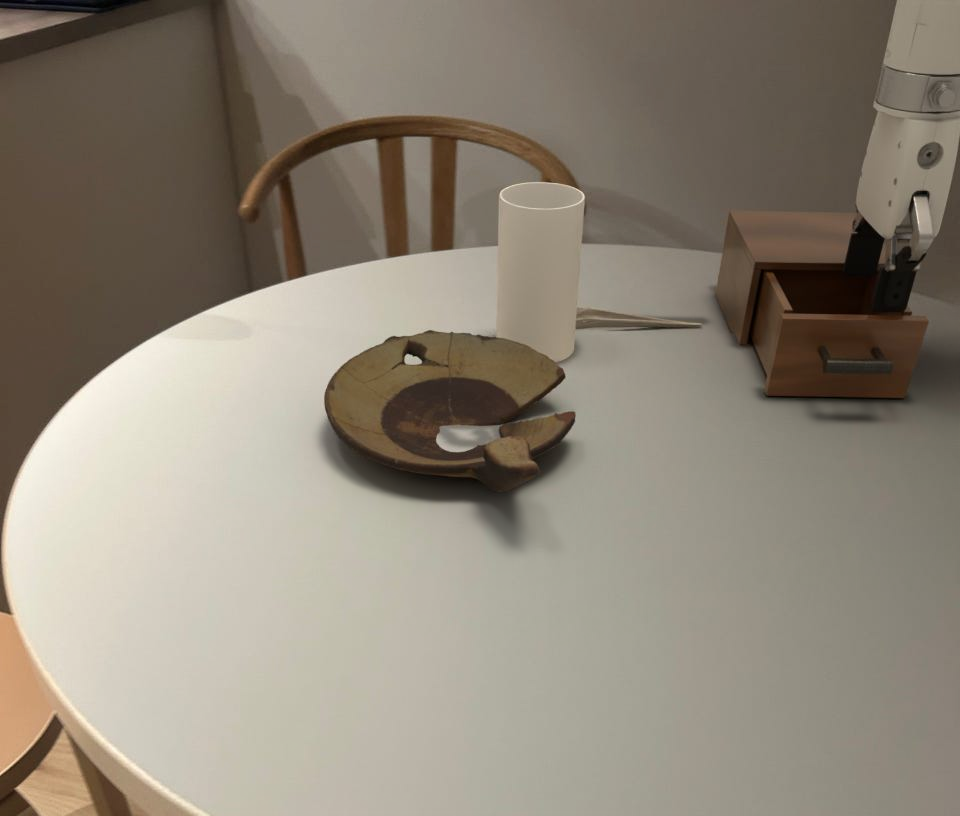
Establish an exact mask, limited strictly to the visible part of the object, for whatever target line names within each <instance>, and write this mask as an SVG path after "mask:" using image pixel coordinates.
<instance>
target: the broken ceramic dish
mask: <svg viewBox="0 0 960 816" xmlns="http://www.w3.org/2000/svg"><path fill="white" fill-rule="evenodd" d="M407 355H409V356H412V357H413V358H414V357H415V358H418V359H419V360H420V361H421V362H420V363H418V364H417V363H416V364H407V363H406V360H405V358H406V356H407ZM565 379H566V373H565V371H564V368H562V367H561V366H560V365H558V364H556V362H554V361H553V360H552V359H550V358H549V357H548V356H547V355H544V354H541V353H539V352H537V351H536V350H534V349H532V348H530V347H529V346H527V345H524V344H521V343H519V342H515V341H511V340H508V339H504V338H498V337H496V336H488V335H481V334H472V333H471V332H453V331H450V332H445V331H438V330H437V331H436V330H432V329H428V330H425V331H424V332H420V333H417V334H412V335H402V336H396V335H392V336H389V337H388V338H386V339H385V340H384V341H383V342H382V343H379V344H375V345H374V346H372V347H371V346H370V347H369V348H367V349H365V350H363V351H361V352H360V353H358V354H357V355H355V356H353V357H350V359H348V360H347V361H346V362H344V363H343V364H342V365H340V367H339V368H338V369H337V370H336V371H335V372H334V373H333V375H332V376H331V378H330V379H329V381H328V383H327V386H326V388H325V390H324V395H323V401H324V402H323V404H324V410H325V413H326V416H327V419H328V421H329V424H330V427H331V428H332V430H333V431H334V433H335V435H336V436H337V437H338V438H339V439H340V441H342V442H343V443H344V444H345V445H346V446H348V447H349V448H350V449H351V450H352V451H354V452H356V453H357V454H359V455H362V456H363V457H365V458H367V459H369V460H371V461H373V462H376V463H378V464H381V465H384V466H387V467H391V468H394V469H397V470H400V471H405V472H409V473H410V472H411V473H416V474H424V475H433V476H443V477H444V476H445V477H451V478H452V477H453V478H473V479H476V480H477V481H479V482H480V483H482V484H483V485H485V486H486V487H487V488H488V489H490V490H491V491H492V492H498V493H499V492H500V493H503V492H509V491H511V490H513V489H515V488H517V487H518V486H520V485H521V484H524V483H526V482H528V481H530V480H532V479H533V478H536V477H537V476H538V475H539V474H540V472H541V471H540V467H539V465H538V463H537V462H536V461H534V459H536V458H537V457H539V456H541V455H543V454H546V453H547V452H549V451H550V450H552V449H553V448H555V447H556V446H557V445H558V444H560V443H561V442H562V441H563V440H564V439H565V438H566V436H567V435H568V434H569V432H570V431H571V430H572V428H573V426H574V425H575V424H576V416H577V415H576V412H575V411H574V410H572V411H564V412H561V413H557V412H555V413H554V414H551V415H549V416H543V417H542V416H539V417H534V418H533V419H525V420H520V421H517V422H510V421H511V420H513V419H515V418H516V417H517V416H518V415H519V414H521V413H523V412H525V411H528V410H529V409H530V408H531V407H532V406H534V405H535V404H536V403H537V402H539V401H540V400H542V399H543V398H545V396H547V395H548V394H550V393H551V392H552V391H553V390H554V389H556V388H557V387H558V386H559V385H561V383H563V381H564V380H565ZM507 422H509V423H507ZM444 426H446V427H448V426H472V427H490V426H499V428H498V432H499V436H500V437H499V438H496V439H493V440H491V441H489V442H488V443H486V444H477V445H476V446H475V447H473V448H471V449H468V450H464V451H449V450H446V449H444V448H443V447H441V446H440V444H439V443H438V442H437V438H438V435H439V434H440V433H441V427H444Z"/></svg>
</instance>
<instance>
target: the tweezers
mask: <svg viewBox="0 0 960 816" xmlns="http://www.w3.org/2000/svg"><path fill="white" fill-rule="evenodd" d="M694 327H695V328H696V327H703V324H702V322H687V321H680V320H671V319H664V318H657V317H651V316H645V315H638V314H633V313H626V312H620V311H612V310H607V309H600V308H594V307H587V306H577V314H576V327H575V330H584V329H593V328H594V329H595V328H694Z"/></svg>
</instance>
